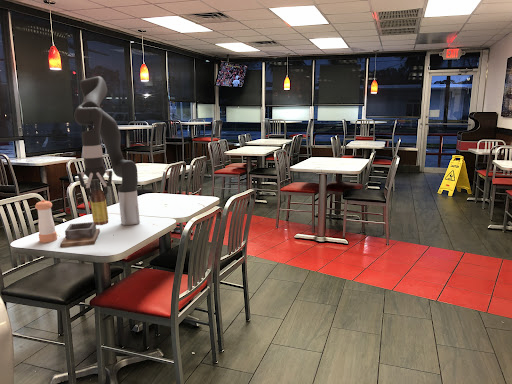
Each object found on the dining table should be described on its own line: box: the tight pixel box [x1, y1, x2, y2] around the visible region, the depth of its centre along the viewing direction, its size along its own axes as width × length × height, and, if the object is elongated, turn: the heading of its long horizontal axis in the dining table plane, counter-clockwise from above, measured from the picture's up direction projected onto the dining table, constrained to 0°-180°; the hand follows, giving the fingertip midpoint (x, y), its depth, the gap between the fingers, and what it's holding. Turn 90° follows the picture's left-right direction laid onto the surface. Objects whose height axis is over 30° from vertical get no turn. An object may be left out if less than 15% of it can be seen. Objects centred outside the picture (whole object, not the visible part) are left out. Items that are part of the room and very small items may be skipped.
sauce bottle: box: [89, 179, 109, 226], centre depth 174 cm, size 7×6×20 cm
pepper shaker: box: [34, 199, 58, 244], centre depth 187 cm, size 7×7×19 cm
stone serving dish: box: [59, 221, 101, 248], centre depth 189 cm, size 14×20×6 cm
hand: (97, 195), depth 173 cm, fingers closed on sauce bottle, 5 cm apart
